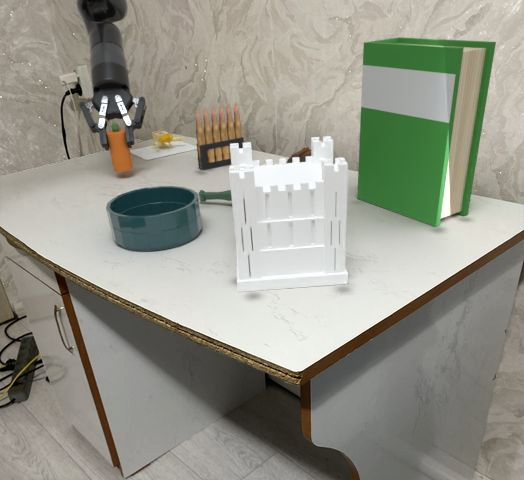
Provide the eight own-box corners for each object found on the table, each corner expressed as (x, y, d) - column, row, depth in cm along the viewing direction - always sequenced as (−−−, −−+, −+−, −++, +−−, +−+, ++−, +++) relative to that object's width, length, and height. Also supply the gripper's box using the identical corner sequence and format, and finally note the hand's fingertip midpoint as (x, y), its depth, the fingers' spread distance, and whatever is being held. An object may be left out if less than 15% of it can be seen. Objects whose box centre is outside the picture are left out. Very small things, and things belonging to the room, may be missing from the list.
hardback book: (467, 214, 85) (496, 41, 72) (435, 226, 82) (458, 48, 68) (387, 188, 98) (399, 37, 84) (357, 198, 94) (363, 42, 81)
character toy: (155, 137, 126) (142, 132, 131) (158, 151, 128) (144, 146, 133) (186, 131, 129) (171, 126, 135) (188, 145, 131) (173, 140, 137)
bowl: (110, 257, 80) (102, 222, 77) (117, 223, 92) (109, 191, 89) (205, 245, 81) (200, 210, 78) (199, 213, 93) (195, 182, 90)
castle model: (237, 247, 80) (227, 143, 72) (331, 240, 80) (332, 135, 72) (237, 292, 69) (226, 174, 60) (347, 283, 69) (351, 164, 60)
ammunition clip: (242, 159, 120) (237, 101, 113) (246, 161, 119) (241, 102, 112) (198, 168, 116) (191, 108, 109) (201, 170, 115) (194, 110, 108)
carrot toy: (113, 172, 112) (103, 126, 107) (114, 167, 115) (105, 122, 110) (132, 170, 112) (123, 124, 107) (133, 165, 115) (124, 120, 110)
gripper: (70, 63, 108) (77, 139, 105) (141, 57, 109) (150, 133, 106) (79, 88, 115) (87, 160, 112) (146, 82, 117) (155, 153, 114)
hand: (118, 146), depth 109 cm, fingers closed on carrot toy, 4 cm apart
